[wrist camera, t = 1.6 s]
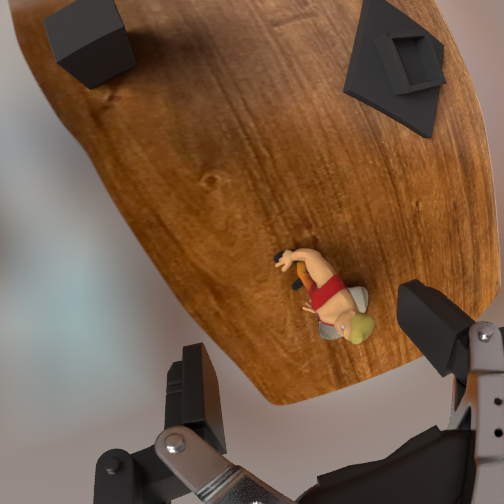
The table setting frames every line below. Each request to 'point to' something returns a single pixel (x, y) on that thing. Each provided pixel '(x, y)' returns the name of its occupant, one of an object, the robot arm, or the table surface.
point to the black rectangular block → (90, 41)
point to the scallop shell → (362, 303)
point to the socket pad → (376, 77)
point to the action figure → (327, 294)
